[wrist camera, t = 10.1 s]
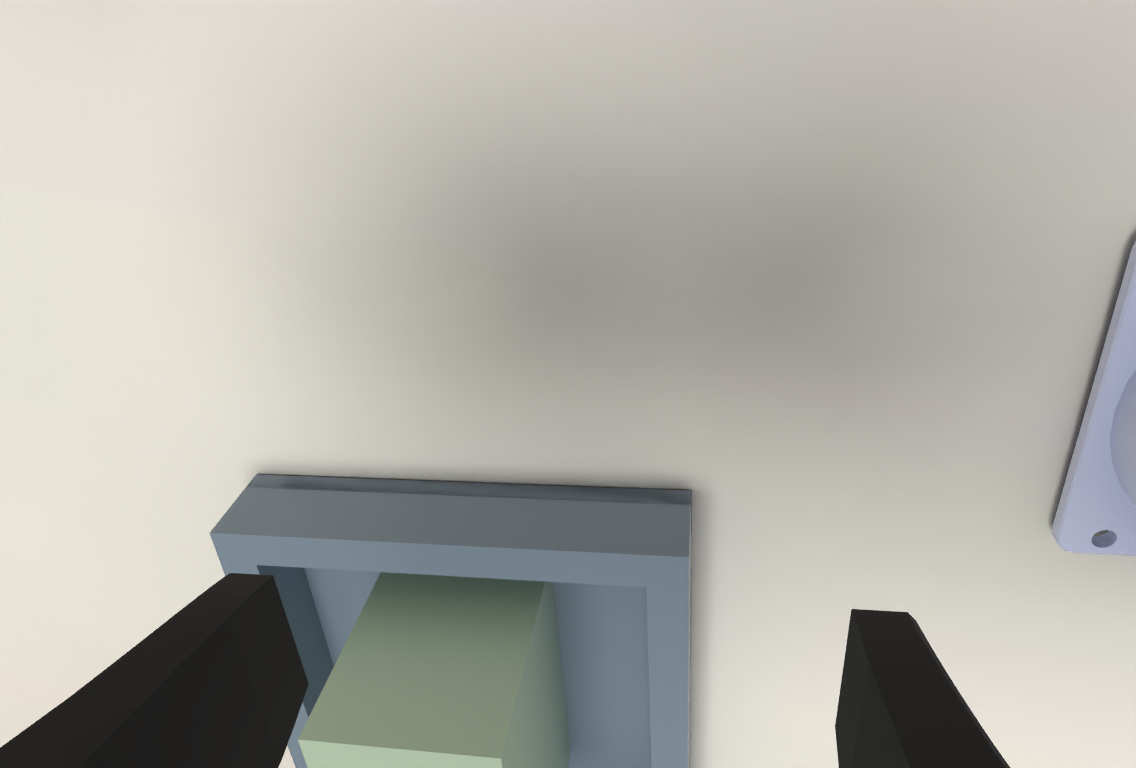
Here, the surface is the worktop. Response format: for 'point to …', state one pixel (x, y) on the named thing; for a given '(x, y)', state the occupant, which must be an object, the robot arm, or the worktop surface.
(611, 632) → the tray
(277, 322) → the worktop surface
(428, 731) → the tall sage green block
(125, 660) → the robot arm
